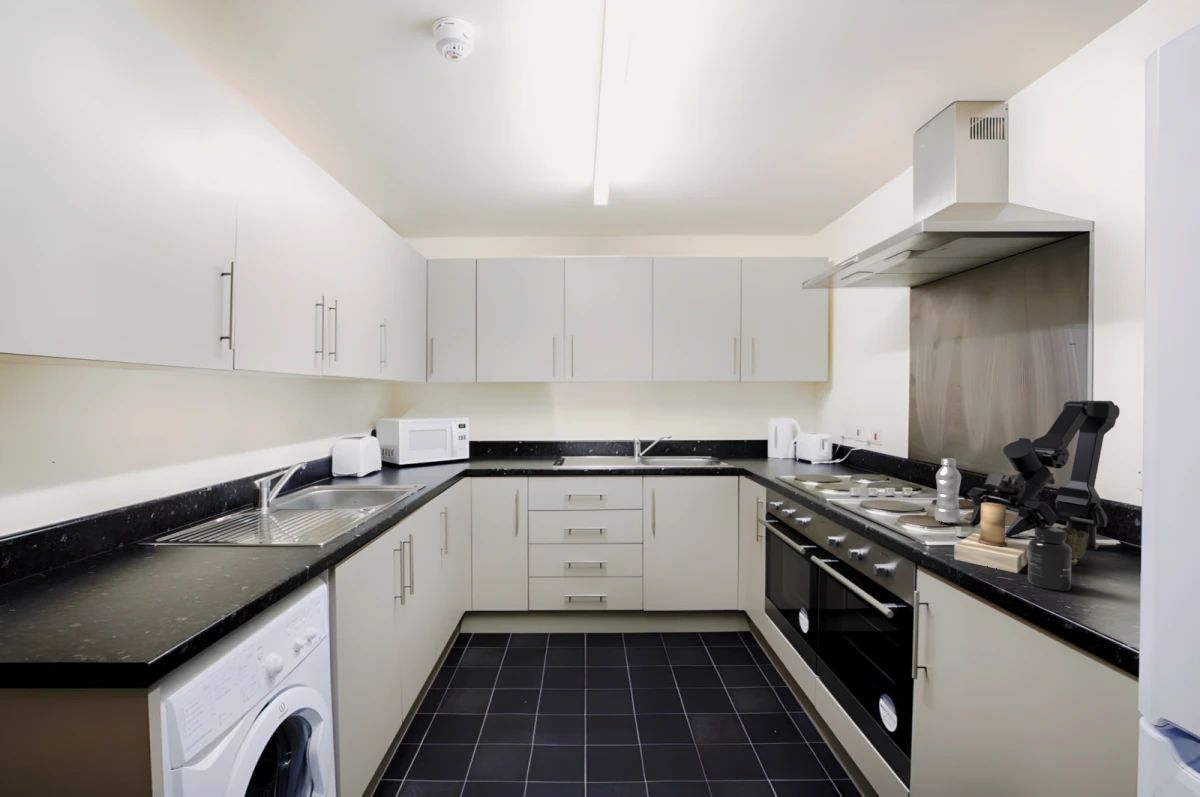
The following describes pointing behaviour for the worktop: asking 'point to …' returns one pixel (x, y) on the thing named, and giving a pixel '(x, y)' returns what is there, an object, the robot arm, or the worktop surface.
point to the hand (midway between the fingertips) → (988, 530)
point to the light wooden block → (992, 554)
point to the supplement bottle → (1050, 559)
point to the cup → (1076, 543)
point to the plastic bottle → (948, 492)
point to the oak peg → (992, 525)
